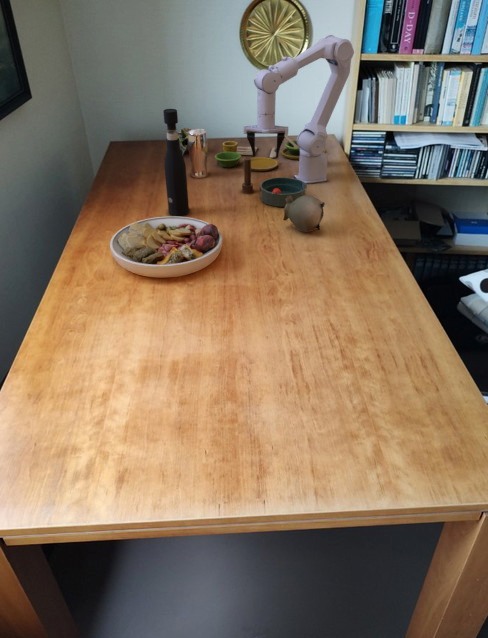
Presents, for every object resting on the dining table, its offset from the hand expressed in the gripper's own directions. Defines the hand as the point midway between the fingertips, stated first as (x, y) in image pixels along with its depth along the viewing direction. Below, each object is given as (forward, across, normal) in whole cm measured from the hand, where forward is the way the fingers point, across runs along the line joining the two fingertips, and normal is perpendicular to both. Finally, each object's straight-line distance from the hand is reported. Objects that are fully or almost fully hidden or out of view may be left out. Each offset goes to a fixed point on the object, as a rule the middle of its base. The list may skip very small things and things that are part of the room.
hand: (265, 156), depth 184 cm
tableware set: (+11, +2, +27) cm, 29 cm away
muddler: (+10, -6, -5) cm, 13 cm away
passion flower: (+11, -33, +33) cm, 48 cm away
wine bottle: (+10, -26, -23) cm, 37 cm away
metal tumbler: (+10, -24, +10) cm, 28 cm away
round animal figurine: (+11, +13, -34) cm, 38 cm away
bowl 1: (+10, -25, -52) cm, 59 cm away
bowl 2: (+10, +6, -10) cm, 16 cm away
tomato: (+8, +4, -10) cm, 14 cm away
